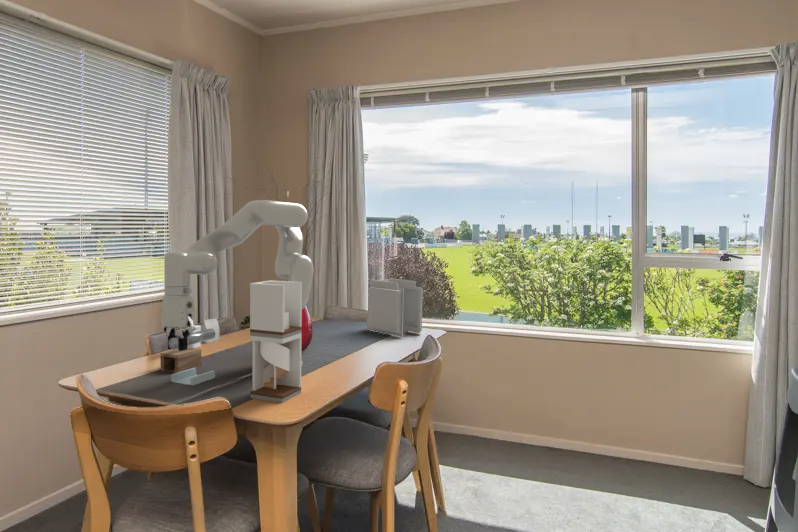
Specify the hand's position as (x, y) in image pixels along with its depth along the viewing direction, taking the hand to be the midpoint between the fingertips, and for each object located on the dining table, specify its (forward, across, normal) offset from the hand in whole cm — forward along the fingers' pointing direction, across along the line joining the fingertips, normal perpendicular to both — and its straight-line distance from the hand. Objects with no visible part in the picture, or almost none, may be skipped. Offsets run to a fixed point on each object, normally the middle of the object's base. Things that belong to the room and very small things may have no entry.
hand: (177, 348), depth 175 cm
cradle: (+13, 0, -7) cm, 15 cm away
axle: (0, 0, -7) cm, 7 cm away
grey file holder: (+12, -23, -118) cm, 121 cm away
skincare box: (+13, +28, -36) cm, 47 cm away
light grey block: (+13, +41, -61) cm, 74 cm away
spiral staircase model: (+13, -31, -9) cm, 35 cm away
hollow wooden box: (+13, +14, -16) cm, 25 cm away
